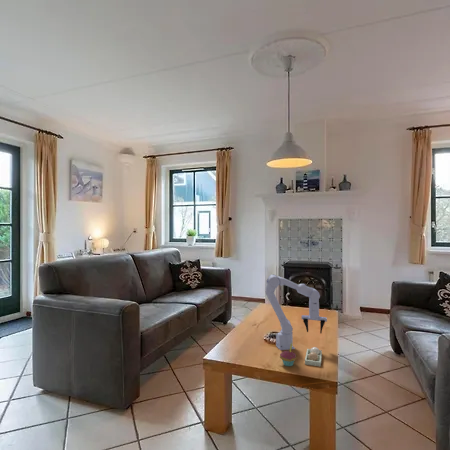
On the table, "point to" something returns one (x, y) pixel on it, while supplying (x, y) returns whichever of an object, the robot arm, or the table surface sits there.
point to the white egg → (315, 350)
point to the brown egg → (313, 356)
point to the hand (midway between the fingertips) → (314, 332)
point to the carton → (310, 362)
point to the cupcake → (288, 357)
